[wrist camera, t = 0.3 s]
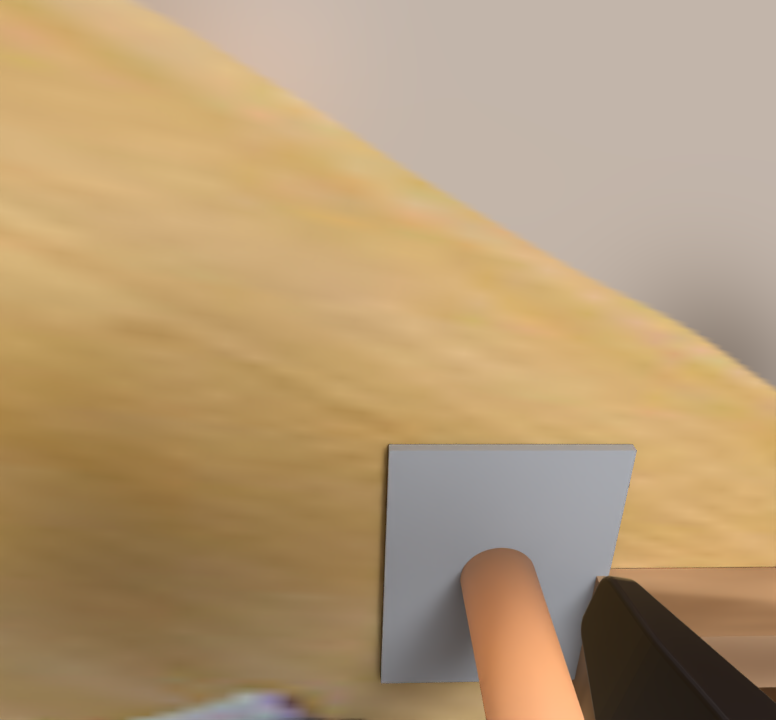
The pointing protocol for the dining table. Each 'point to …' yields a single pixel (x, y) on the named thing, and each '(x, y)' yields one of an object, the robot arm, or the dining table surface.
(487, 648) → the peg
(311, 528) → the dining table surface
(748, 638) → the hole block
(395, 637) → the mat
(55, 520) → the dining table surface
